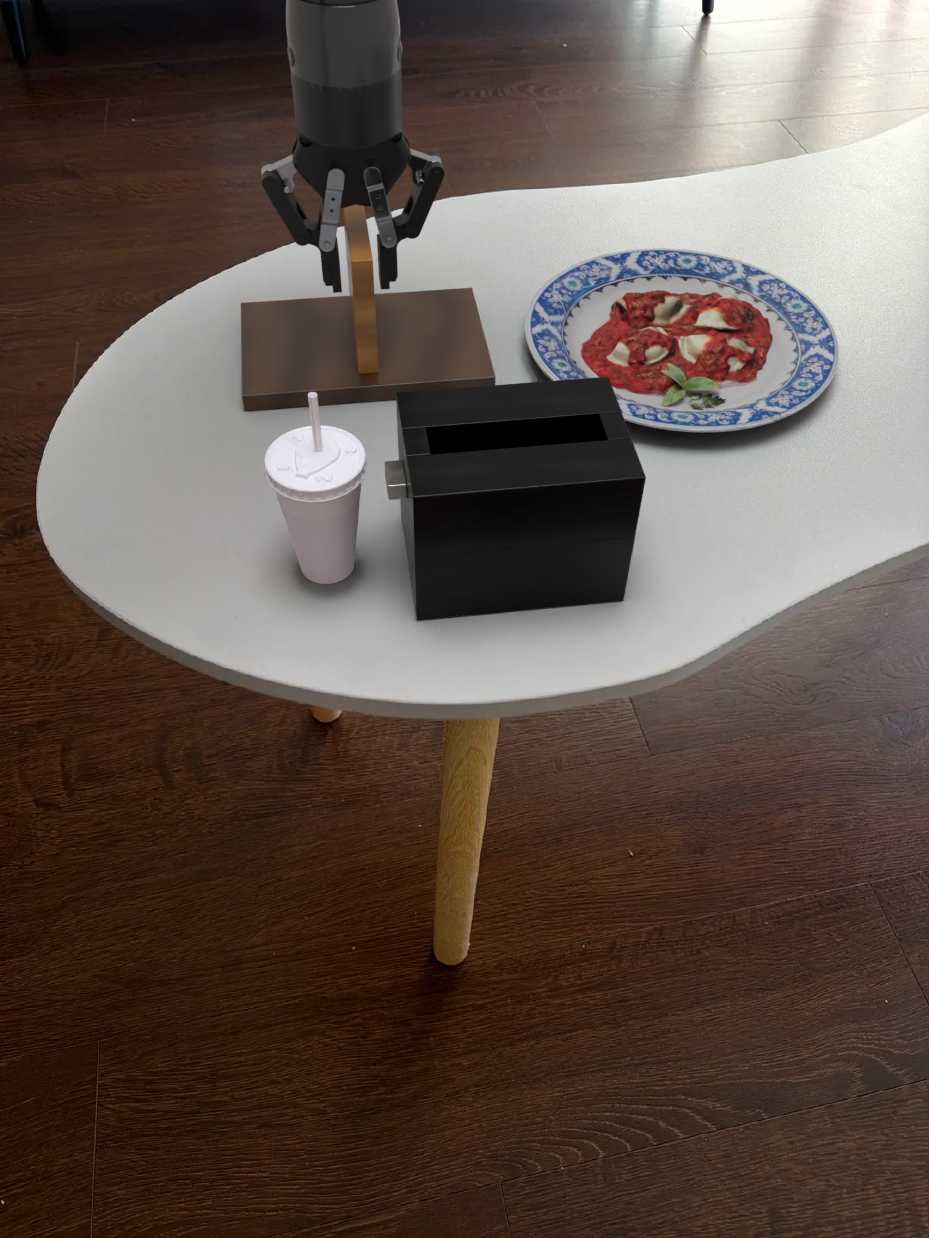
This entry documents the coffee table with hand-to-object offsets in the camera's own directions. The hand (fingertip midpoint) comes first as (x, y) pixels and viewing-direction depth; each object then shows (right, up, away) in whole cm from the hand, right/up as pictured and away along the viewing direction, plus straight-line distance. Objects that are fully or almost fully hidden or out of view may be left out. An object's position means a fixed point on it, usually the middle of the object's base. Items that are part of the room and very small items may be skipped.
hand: (360, 284), depth 87 cm
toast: (0, -3, +4) cm, 5 cm away
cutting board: (0, -4, +5) cm, 6 cm away
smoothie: (-1, -23, -11) cm, 25 cm away
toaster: (+11, -22, -11) cm, 27 cm away
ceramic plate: (+26, -4, +6) cm, 27 cm away
